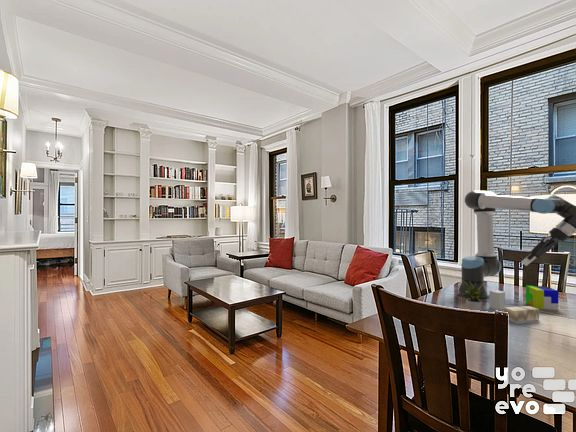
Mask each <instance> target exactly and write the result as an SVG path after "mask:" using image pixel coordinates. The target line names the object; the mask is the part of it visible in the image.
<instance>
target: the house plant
mask: <svg viewBox="0 0 576 432" xmlns="http://www.w3.org/2000/svg"><path fill="white" fill-rule="evenodd" d="M463 282H464V281H463ZM476 282H477V281H476ZM465 284H466V285H467V283H466V282H465ZM476 284H477V283H476ZM476 284H475V285H476ZM459 285H461V283H460V284H459ZM463 285H464V284H463ZM475 285H474V286H473V285H472V284H471V282H470V287H471V288H470V287H468V285H467V287H468V288H467V287H466V286H465V285H464V286H465V287H466V288H467V289H468V290H469V291H465V292H467V293H468V295H469V296H470V298H469V297H468V296H467V295H466V293H463V294H462V295H464V294H465V295H466V296H467V297H466V299H465V301H466V307H467V310H468V309H470V310H480V312H482V311H481V310H482V304H483V300H481V299H478V298H479V297H480V296H481V295H486V294H479V293H480V292H481V291H482V290H483V289H484V288H483V289H482V290H481V291H479V290H480V288H481V286H482V285H481V286H480V288H478V289H476V291H474V289H475ZM461 286H462V285H461ZM464 286H463V287H464ZM465 287H464V288H465ZM466 288H465V289H466ZM486 288H489V285H487V286H485V289H486ZM459 292H460V291H459ZM470 293H471V294H470ZM483 297H484V296H483ZM481 298H482V297H481Z"/></svg>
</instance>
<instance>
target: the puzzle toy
mask: <svg viewBox="0 0 576 432" xmlns="http://www.w3.org/2000/svg"><path fill="white" fill-rule="evenodd" d="M525 304H526V305H527V306H530V307H534V308H537V309H539V310H554V311H555V310H556V311H558V310H559V290H557V289H554V288H552V287H549V286H547V285H546V286H543V285H525Z"/></svg>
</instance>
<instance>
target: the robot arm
mask: <svg viewBox="0 0 576 432" xmlns="http://www.w3.org/2000/svg"><path fill="white" fill-rule="evenodd" d="M464 203H465V206H466V207H467V208H469V209H471V210H473V213H474V214H475V215H476V231H477V233H476V234H477V235H476V237H477V238H476V239H477V253H475V256H474V255H473V256H465V257H463V258H462V259H461V265H460V266H461V284H459V289H458V295H459V296H462V297H464V298H468V297H469V298H470V296H469V295H468V293H467V292H465V291H469V290H468V289H467V288H468V287H470V282H471V284H472V285H473V286H474V285H475V284H476V283H477V284H476V285H475V289H474V291H476V289H478V288H480V286H481V285H482V286H481V288H480V290H479V291H481V290H482V289H483V288H484V289H483V290H482V291H481V292H480V293H479V294H486V295H481V296H480V297H479V298H478V299H480V300H481V299H486V298H488V292H487V290H486V288H485V287H486V286H485V283H484V282H485V279H484V278H486V277H494V276H496V275H498V274H499V273H500V272H501V269H502V263H501V261H500V260H499V259H498V255H497V254H496V253H495V248H494V246H495V244H494V241H495V240H494V220H493V219H494V218H493V216H494V214H495V213H496V209H500V210H509V211H518V212H519V211H520V212H530V213H536V214H537V213H538V214H556V215H558V216H560V217H561V218H563V219H562V220H561V221H559V223H557V224H556V225H555V227H552V229H550V230H549V232H548V233H549V235H548V236H547V237H546V236H544V237H543V238H542V239H541V240H540V242H539V243H538V244H536V245H535V247H533V249H532V250H530V251H529V253H530V254H529V255H527V256H526V257H525V258H523V260H521V262H520V263H522V264H523V265H524V266H526V267H527V266H528V265H530V264H531V263H532V262H533V261H534V260H536V259H540V257H542V256H544V255H545V254H546V253H548V252H549V251H551V250H552V249H555V248H556V245H557V243H558V242H559V241H560V242H561V243H564V242H566V240H568V239H569V238H570V237H571V236H573V235H574V234H576V205H574V204H572V203H571V202H569V201H567V200H565V199H563V198H562V197H560V196H558V195H556V194H553V195H550V196H548V197H546V198H545V197H531V196H529V197H528V196H512V195H500V194H499V195H497V194H496V193H495V192H493V191H490V190H472V191H470V192H467V194H466V195H465V197H464ZM463 281H464V282H463ZM476 281H477V282H476ZM465 282H466V283H467V285H468V287H467V285H466V284H465ZM463 284H464V285H465V286H466V287H467V288H466V287H465V286H464V285H463ZM461 285H462V286H461ZM463 286H464V287H465V288H466V289H465V288H464V287H463ZM470 288H471V287H470ZM459 291H460V292H459ZM463 293H466V295H467V296H468V297H467V296H466V295H465V294H464V295H462V294H463ZM470 294H471V293H470ZM483 296H484V297H483ZM481 297H482V298H481Z"/></svg>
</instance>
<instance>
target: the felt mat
mask: <svg viewBox="0 0 576 432" xmlns="http://www.w3.org/2000/svg"><path fill="white" fill-rule="evenodd" d="M508 321H510V322H513V321H511V320H508ZM513 323H514V324H517V325H518V324H519V325H520V324H532V323H533V324H534V323H540V320H528V321H514V322H513Z"/></svg>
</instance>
